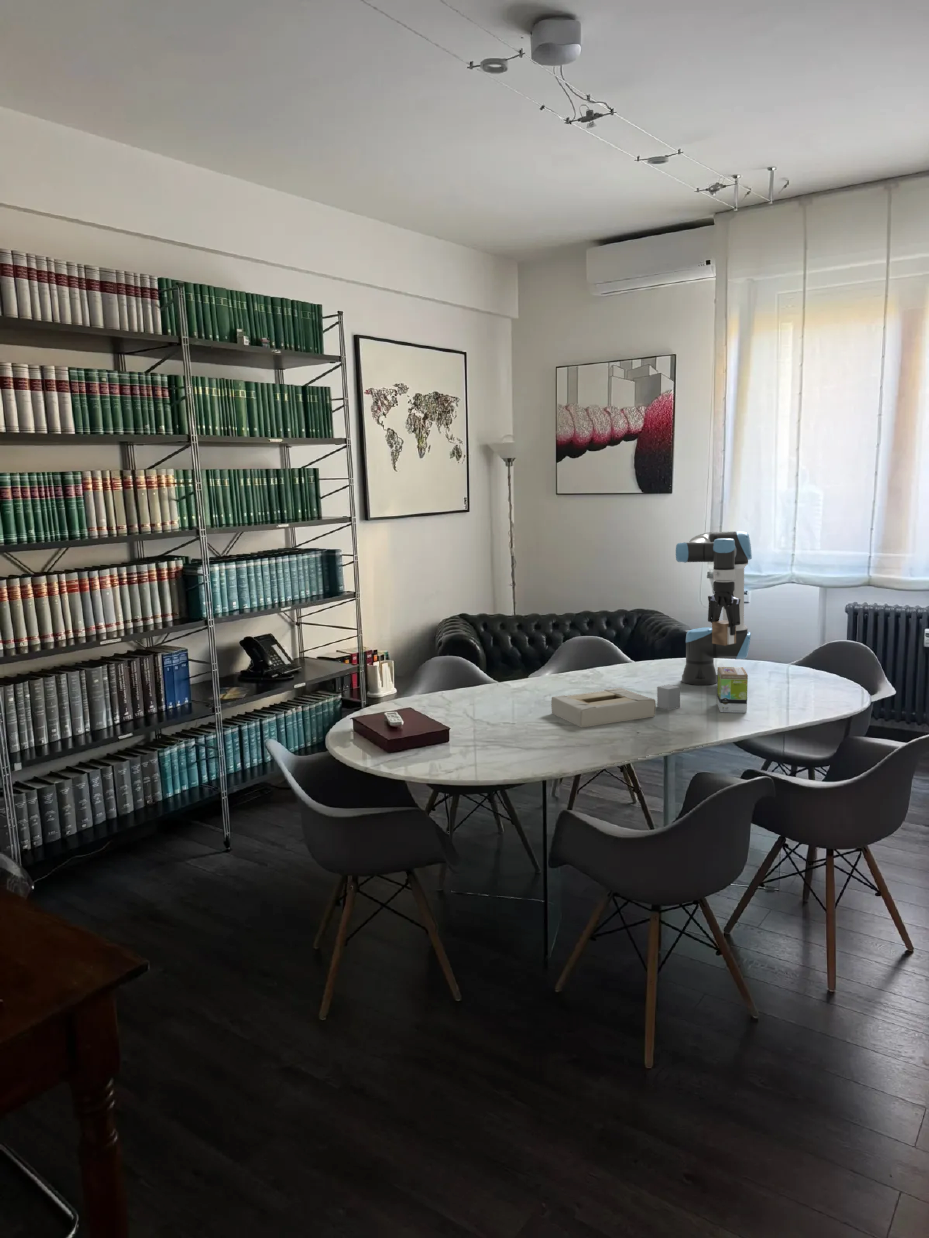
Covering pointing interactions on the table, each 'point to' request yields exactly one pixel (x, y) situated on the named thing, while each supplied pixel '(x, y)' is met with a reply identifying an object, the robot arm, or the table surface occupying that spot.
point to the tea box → (732, 689)
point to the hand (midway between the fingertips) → (723, 642)
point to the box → (602, 707)
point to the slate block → (668, 697)
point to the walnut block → (720, 632)
